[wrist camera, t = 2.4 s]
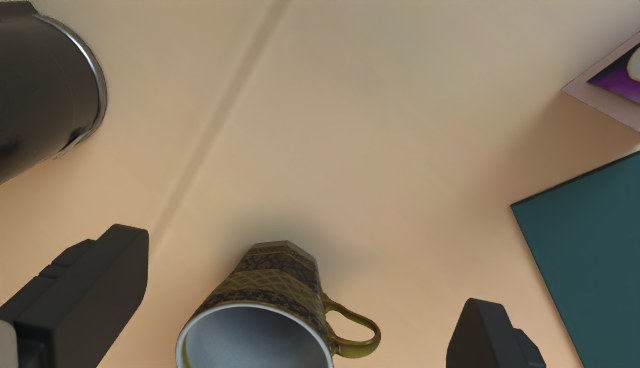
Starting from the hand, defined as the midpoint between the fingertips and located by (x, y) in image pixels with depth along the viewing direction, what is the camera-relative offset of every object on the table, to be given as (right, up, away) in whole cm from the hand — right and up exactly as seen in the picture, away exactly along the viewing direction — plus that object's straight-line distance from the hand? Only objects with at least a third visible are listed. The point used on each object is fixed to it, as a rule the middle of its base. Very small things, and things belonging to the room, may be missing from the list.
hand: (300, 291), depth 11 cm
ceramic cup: (-1, -4, +26) cm, 26 cm away
